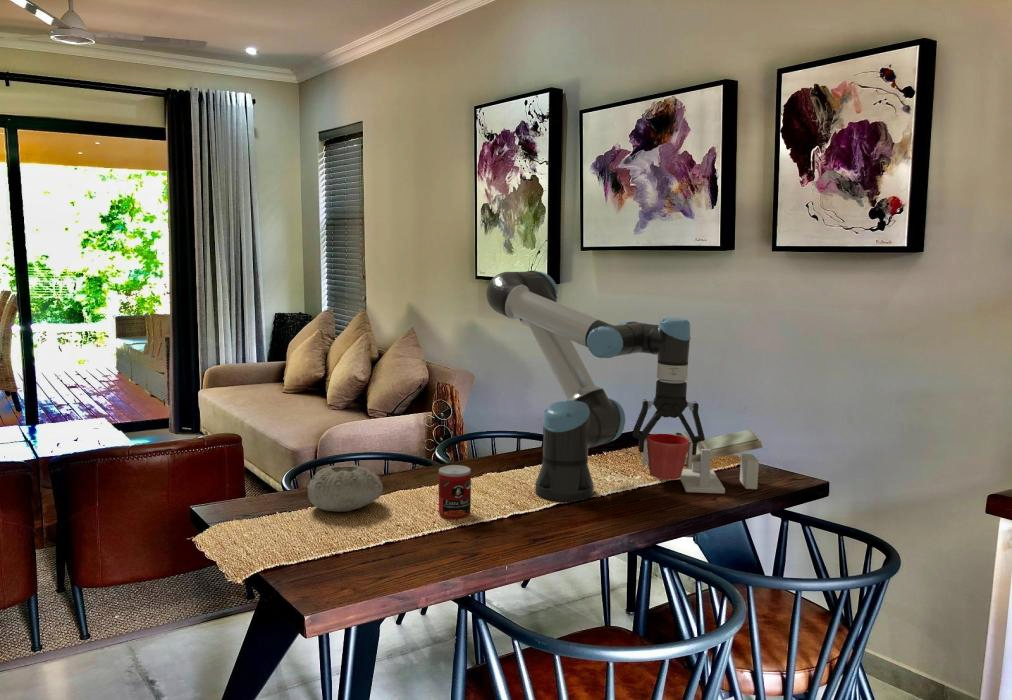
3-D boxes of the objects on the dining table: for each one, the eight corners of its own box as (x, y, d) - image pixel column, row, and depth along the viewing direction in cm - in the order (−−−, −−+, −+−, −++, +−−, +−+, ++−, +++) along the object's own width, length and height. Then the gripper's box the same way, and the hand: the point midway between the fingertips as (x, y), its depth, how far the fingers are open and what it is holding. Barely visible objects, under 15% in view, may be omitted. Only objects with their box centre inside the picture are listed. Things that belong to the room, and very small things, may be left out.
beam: (650, 472, 218) (648, 463, 217) (646, 461, 229) (644, 452, 229) (762, 448, 214) (760, 439, 214) (752, 437, 226) (750, 428, 226)
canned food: (441, 520, 189) (442, 475, 188) (435, 510, 197) (435, 465, 195) (473, 518, 191) (474, 473, 190) (466, 507, 199) (466, 463, 197)
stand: (686, 491, 214) (688, 450, 213) (677, 472, 232) (678, 434, 231) (761, 494, 213) (764, 453, 211) (746, 475, 231) (749, 437, 229)
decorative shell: (329, 493, 209) (329, 455, 208) (394, 499, 204) (393, 460, 203) (294, 515, 192) (293, 473, 190) (363, 522, 187) (363, 480, 186)
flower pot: (684, 470, 211) (686, 434, 210) (689, 483, 201) (692, 445, 199) (643, 468, 212) (645, 431, 211) (646, 480, 202) (648, 442, 200)
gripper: (626, 380, 200) (621, 467, 203) (721, 385, 198) (715, 472, 202) (624, 375, 207) (619, 459, 211) (715, 379, 206) (709, 464, 209)
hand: (666, 466), depth 206 cm, fingers closed on flower pot, 10 cm apart
